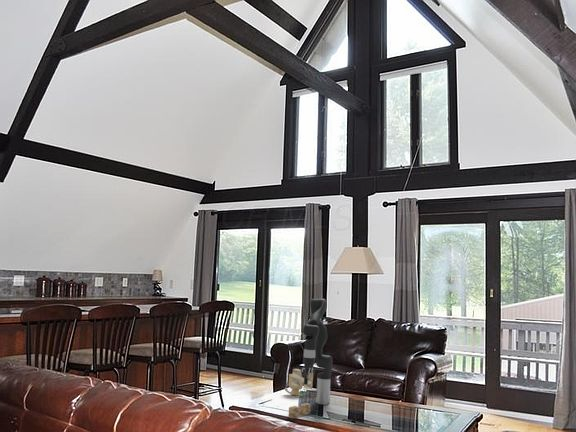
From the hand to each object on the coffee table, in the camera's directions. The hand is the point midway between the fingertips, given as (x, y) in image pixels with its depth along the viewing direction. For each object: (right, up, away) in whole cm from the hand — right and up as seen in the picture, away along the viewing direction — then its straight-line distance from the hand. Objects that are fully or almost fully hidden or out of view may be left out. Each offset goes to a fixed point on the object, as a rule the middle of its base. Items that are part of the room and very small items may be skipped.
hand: (307, 383), depth 328 cm
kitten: (-7, -26, +54) cm, 60 cm away
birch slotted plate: (-4, -3, +3) cm, 5 cm away
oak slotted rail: (-5, -20, +1) cm, 21 cm away
